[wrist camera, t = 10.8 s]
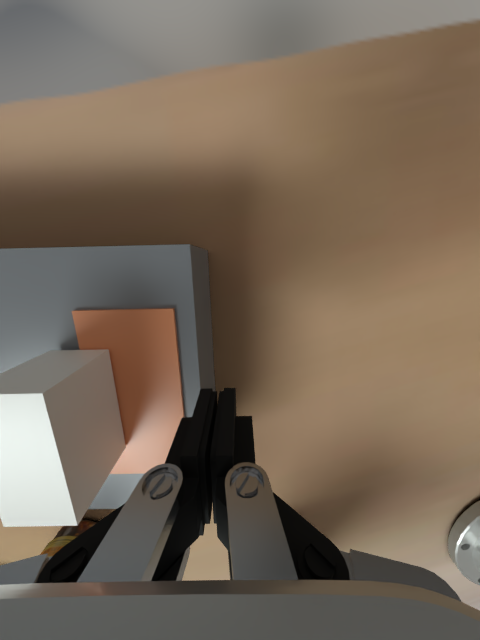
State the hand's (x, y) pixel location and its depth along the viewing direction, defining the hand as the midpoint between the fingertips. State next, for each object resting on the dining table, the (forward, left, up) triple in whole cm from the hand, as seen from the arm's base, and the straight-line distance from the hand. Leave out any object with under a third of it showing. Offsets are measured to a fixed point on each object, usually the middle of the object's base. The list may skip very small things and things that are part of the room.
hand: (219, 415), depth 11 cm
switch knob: (+7, 0, -1) cm, 7 cm away
